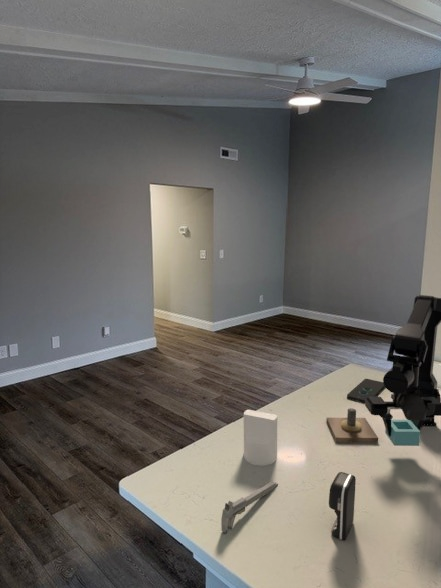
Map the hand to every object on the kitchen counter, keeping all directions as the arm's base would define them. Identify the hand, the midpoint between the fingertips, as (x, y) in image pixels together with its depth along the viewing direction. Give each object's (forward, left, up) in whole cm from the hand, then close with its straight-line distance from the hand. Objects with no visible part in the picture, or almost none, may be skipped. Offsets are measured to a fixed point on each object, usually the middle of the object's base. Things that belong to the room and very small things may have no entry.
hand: (401, 435), depth 108 cm
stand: (+10, -12, -6) cm, 17 cm away
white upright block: (+38, +1, -6) cm, 38 cm away
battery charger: (+23, +27, -6) cm, 36 cm away
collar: (0, 0, -1) cm, 1 cm away
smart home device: (-4, -41, -6) cm, 42 cm away
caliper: (+41, +21, -6) cm, 46 cm away
